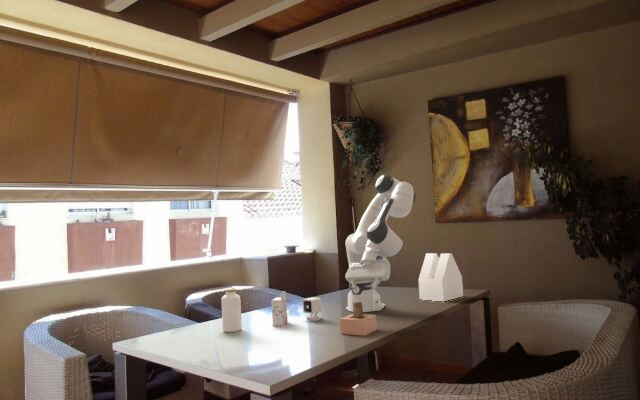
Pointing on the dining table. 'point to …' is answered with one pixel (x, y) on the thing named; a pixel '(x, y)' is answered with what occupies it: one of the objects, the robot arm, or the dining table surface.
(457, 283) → the white notched block
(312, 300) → the security camera
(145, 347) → the dining table surface
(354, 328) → the socket block
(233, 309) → the potion bottle
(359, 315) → the dowel
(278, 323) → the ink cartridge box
